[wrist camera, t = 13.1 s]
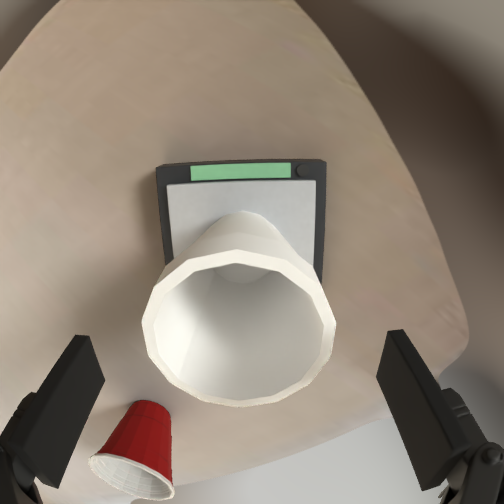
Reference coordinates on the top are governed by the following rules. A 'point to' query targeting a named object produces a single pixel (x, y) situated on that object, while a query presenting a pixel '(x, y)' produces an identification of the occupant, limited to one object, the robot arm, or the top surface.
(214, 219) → the scale
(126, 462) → the plastic cup
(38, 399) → the robot arm
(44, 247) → the top surface
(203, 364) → the foam cup
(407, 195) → the top surface
